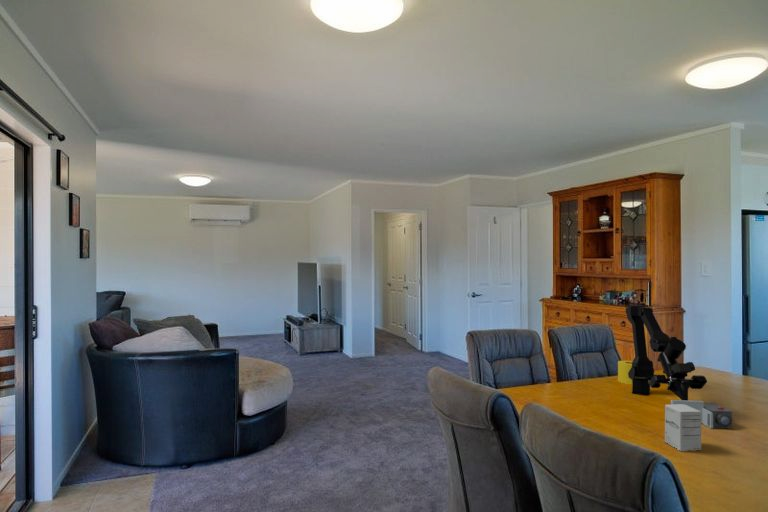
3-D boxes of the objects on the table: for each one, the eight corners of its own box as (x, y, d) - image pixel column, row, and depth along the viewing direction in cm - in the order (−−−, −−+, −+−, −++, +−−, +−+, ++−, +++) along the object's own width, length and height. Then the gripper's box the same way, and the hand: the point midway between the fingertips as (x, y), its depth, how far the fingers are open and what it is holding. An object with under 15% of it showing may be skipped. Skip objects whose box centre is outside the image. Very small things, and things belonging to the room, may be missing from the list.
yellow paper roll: (613, 380, 230) (613, 361, 230) (628, 378, 233) (628, 359, 233) (630, 385, 220) (630, 365, 220) (645, 383, 224) (645, 364, 224)
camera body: (695, 417, 176) (695, 400, 176) (714, 418, 175) (714, 401, 175) (714, 429, 164) (714, 410, 164) (735, 430, 163) (735, 411, 163)
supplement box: (663, 442, 152) (663, 404, 153) (685, 441, 153) (685, 403, 153) (680, 451, 145) (680, 411, 145) (702, 451, 146) (702, 411, 146)
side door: (671, 421, 172) (671, 400, 172) (701, 421, 171) (701, 400, 171) (680, 427, 165) (680, 405, 165) (712, 428, 164) (712, 406, 165)
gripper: (653, 353, 178) (668, 390, 167) (704, 354, 176) (723, 391, 165) (643, 369, 186) (657, 405, 175) (692, 370, 184) (709, 406, 173)
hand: (686, 402), depth 172 cm, fingers closed, pressing on side door
